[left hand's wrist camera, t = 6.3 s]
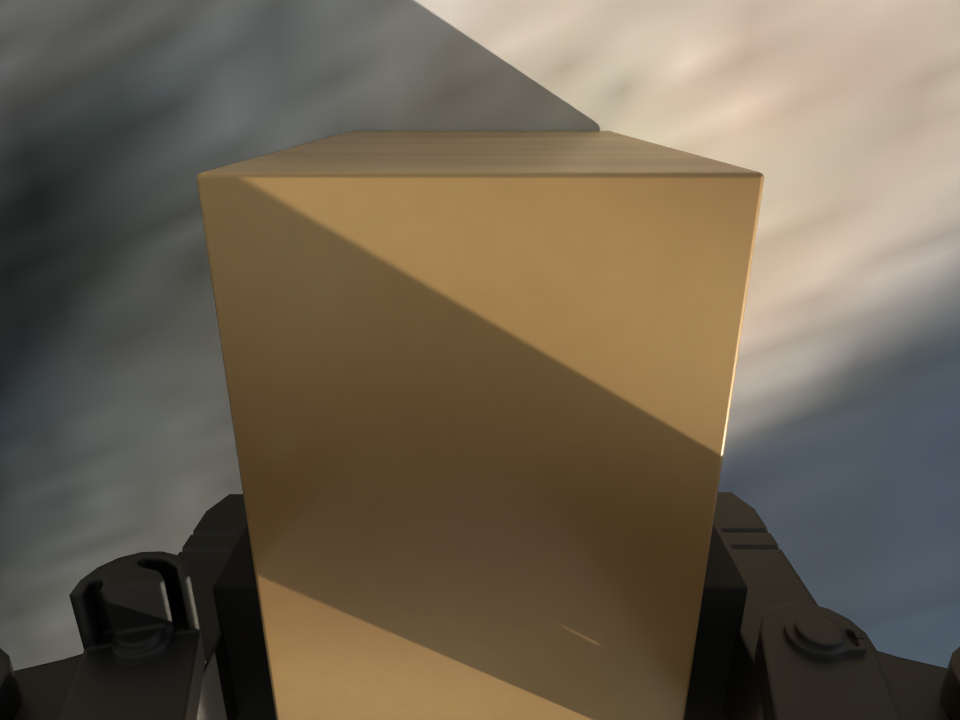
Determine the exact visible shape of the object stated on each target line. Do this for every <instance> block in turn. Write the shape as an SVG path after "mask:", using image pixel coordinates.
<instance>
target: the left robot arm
mask: <svg viewBox="0 0 960 720" xmlns="http://www.w3.org/2000/svg"><path fill="white" fill-rule="evenodd" d="M69 596H70V599H71V603H72V607H73V610H74V614H75V618H76V621H77V625H78V629H79V632H80V636H81V640H82V643H83V647H84V652H83V654H80V655H77V656H74V657H71V658H67V659H64V660H60V661H55V662H51V663H47V664H42V665H38V666H34V667H30V668H25V669H21V670H17V671H14V670H13V667H12V663H11V660H10V657H9V655H7V654H6V653H5V652H4V651H3V650H2V649H0V720H276V713H275V706H274V699H273V692H272V686H271V679H270V672H269V665H268V659H267V652H266V645H265V638H264V631H263V625H262V618H261V611H260V604H259V597H258V591H257V584H256V577H255V570H254V564H253V557H252V550H251V543H250V536H249V530H248V523H247V516H246V509H245V502H244V496H243V494H229V495H228V496H227V497H225V498H224V499H223V500H221V501H220V502H219V503H217V504H216V505H214V506H213V507H212V508H210V509H209V510H208V511H206V513H205V514H204V516H203V517H202V519H201V520H200V522H199V524H198V525H197V527H196V528H195V530H194V533H193V535H191V536H190V537H189V539H188V540H187V542H186V543H185V545H184V546H183V551H182V552H179V554H178V555H174V554H170V553H166V552H141V553H137V554H133V555H129V556H125V557H120V558H118V559H116V560H113V561H111V562H109V563H107V564H105V565H102V566H100V567H98V568H97V569H95V570H94V571H93V572H91V573H90V574H89V575H87V576H86V577H84V578H83V579H82V580H80V582H79V583H78V584H77V586H76V587H75V588H74V590H73V591H72V592H71V594H70V595H69ZM684 720H960V647H959V648H958V649H957V650H956V651H954V652H953V653H952V656H951V659H950V662H949V665H948V668H943V667H938V666H934V665H930V664H926V663H921V662H917V661H913V660H908V659H904V658H900V657H896V656H892V655H889V654H886V653H883V652H879V651H877V650H876V649H875V647H874V645H873V644H872V642H871V641H870V639H869V638H868V636H867V635H866V633H865V632H863V631H862V630H861V629H860V628H859V627H857V626H856V625H855V624H854V623H853V622H852V621H850V620H849V619H847V618H845V617H843V616H841V615H839V614H837V613H835V612H834V611H832V610H830V609H827V608H823V607H820V606H818V605H817V603H816V602H815V600H814V599H813V597H812V596H811V594H810V593H809V591H808V590H807V588H806V587H805V585H804V584H803V582H802V580H801V579H800V577H799V576H798V574H797V573H796V571H795V570H794V568H793V567H792V565H791V564H790V562H789V561H788V559H787V558H786V556H785V555H784V553H783V552H782V550H779V549H778V544H777V543H776V541H775V540H774V538H773V537H772V535H771V534H770V533H768V532H767V528H766V526H765V525H764V523H763V522H762V520H761V519H760V517H759V515H758V514H757V512H756V511H755V509H753V508H752V507H751V506H749V505H748V504H747V503H745V502H744V501H742V500H741V499H740V498H738V497H737V496H736V495H734V494H733V493H732V492H718V493H717V500H716V507H715V513H714V520H713V527H712V534H711V541H710V547H709V554H708V561H707V568H706V574H705V581H704V588H703V595H702V601H701V608H700V615H699V622H698V628H697V635H696V642H695V649H694V656H693V662H692V669H691V676H690V683H689V689H688V696H687V703H686V710H685V716H684Z"/></svg>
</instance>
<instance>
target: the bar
mask: <svg viewBox="0 0 960 720" xmlns="http://www.w3.org/2000/svg"><path fill="white" fill-rule="evenodd" d="M763 182H764V176H763V174H762V173H759V172H756V171H753V170H749V169H745V168H742V167H738V166H734V165H731V164H727V163H723V162H720V161H716V160H713V159H709V158H705V157H702V156H698V155H694V154H691V153H687V152H683V151H680V150H676V149H673V148H669V147H665V146H662V145H658V144H654V143H651V142H647V141H643V140H640V139H636V138H633V137H629V136H625V135H622V134H618V133H614V132H611V131H350V132H346V133H343V134H339V135H335V136H332V137H328V138H324V139H321V140H317V141H314V142H310V143H306V144H303V145H299V146H295V147H292V148H288V149H284V150H281V151H277V152H274V153H270V154H266V155H263V156H259V157H255V158H252V159H248V160H244V161H241V162H237V163H234V164H230V165H226V166H223V167H219V168H215V169H212V170H208V171H204V172H201V173H199V174H198V175H197V183H198V190H199V197H200V204H201V211H202V217H203V224H204V231H205V238H206V244H207V251H208V258H209V265H210V272H211V278H212V285H213V292H214V299H215V306H216V312H217V319H218V326H219V333H220V340H221V346H222V353H223V360H224V367H225V373H226V380H227V387H228V394H229V401H230V407H231V414H232V421H233V428H234V435H235V441H236V448H237V455H238V462H239V468H240V475H241V482H242V489H243V496H244V502H245V509H246V516H247V523H248V530H249V536H250V543H251V550H252V557H253V564H254V570H255V577H256V584H257V591H258V597H259V604H260V611H261V618H262V625H263V631H264V638H265V645H266V652H267V659H268V665H269V672H270V679H271V686H272V692H273V699H274V706H275V713H276V720H684V716H685V710H686V703H687V696H688V689H689V683H690V676H691V669H692V662H693V656H694V649H695V642H696V635H697V628H698V622H699V615H700V608H701V601H702V595H703V588H704V581H705V574H706V568H707V561H708V554H709V547H710V541H711V534H712V527H713V520H714V513H715V507H716V500H717V493H718V486H719V480H720V473H721V466H722V459H723V453H724V446H725V439H726V432H727V426H728V419H729V412H730V405H731V398H732V392H733V385H734V378H735V371H736V365H737V358H738V351H739V344H740V338H741V331H742V324H743V317H744V311H745V304H746V297H747V290H748V283H749V277H750V270H751V263H752V256H753V250H754V243H755V236H756V229H757V223H758V216H759V209H760V202H761V196H762V189H763Z"/></svg>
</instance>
